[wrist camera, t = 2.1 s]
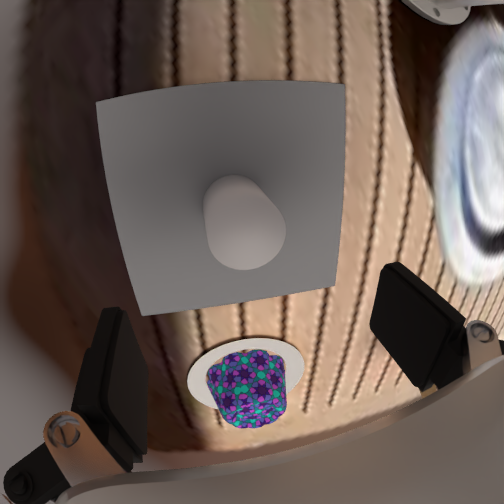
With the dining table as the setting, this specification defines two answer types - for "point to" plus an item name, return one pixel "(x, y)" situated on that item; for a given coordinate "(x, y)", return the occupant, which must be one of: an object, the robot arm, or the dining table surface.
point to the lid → (226, 189)
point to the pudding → (247, 380)
